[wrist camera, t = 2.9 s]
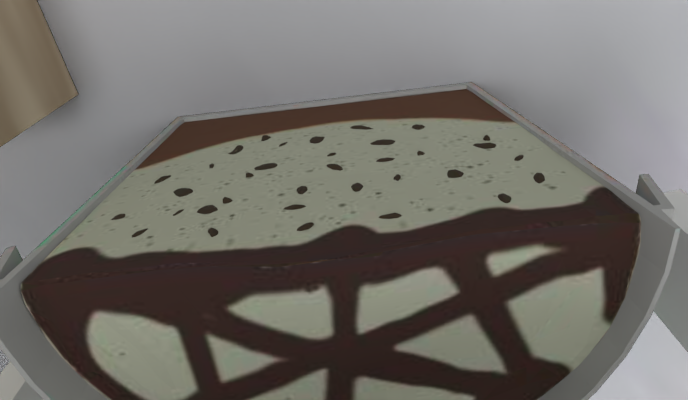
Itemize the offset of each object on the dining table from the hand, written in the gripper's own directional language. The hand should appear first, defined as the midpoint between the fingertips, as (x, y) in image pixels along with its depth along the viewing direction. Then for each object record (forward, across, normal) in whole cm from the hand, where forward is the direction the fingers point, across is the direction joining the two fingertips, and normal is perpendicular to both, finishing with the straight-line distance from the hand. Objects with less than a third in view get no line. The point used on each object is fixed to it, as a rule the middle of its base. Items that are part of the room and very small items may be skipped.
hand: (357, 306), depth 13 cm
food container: (+7, 0, 0) cm, 7 cm away
